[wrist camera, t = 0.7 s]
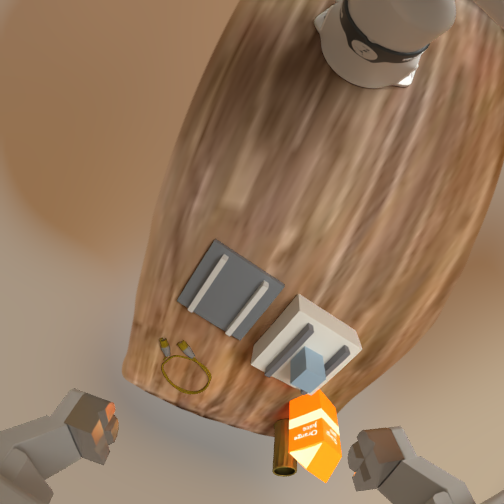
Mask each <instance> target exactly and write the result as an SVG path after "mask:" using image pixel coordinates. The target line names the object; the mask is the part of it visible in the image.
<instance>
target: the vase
mask: <svg viewBox="0 0 504 504" xmlns="http://www.w3.org/2000/svg"><path fill="white" fill-rule="evenodd" d="M274 429H275V442H274V457H273V458H274V459H273V473H274V474H275V475H277V476H291V475H294V474H295V473H296V471H297V460H296V459H295V458H294V457H293V456H292V455H291V454H290V453H289V419H282V420H279V421H277V422H276V423H275V424H274Z"/></svg>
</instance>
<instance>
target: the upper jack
mask: <svg viewBox="0 0 504 504" xmlns="http://www.w3.org/2000/svg"><path fill="white" fill-rule="evenodd" d="M304 346H306V347H308V348H309V349H311V350H313V351H315V352H316V353H318V354H320V355H322V356H323V361H324V368H325V375H326V380H325V381H324V382H322V383H321V384H320V385H319V386H318V387H317V388H316V389H314V390H313V391H312V392H311V393H308V392H306V391H304V390H302V389H300V388H298V387H296V386H294V385H292V384H290V360H291V359H292V358H293V357H294V356H295V355H296V354H297V353H298V352H299V351H300V350H301V349H302V348H303V347H304ZM361 350H362V347H361V344H360V341H359V338H358V336H357V333H356V330H354V329H352V328H351V327H349V326H348V325H346V324H345V323H343V322H342V321H340V320H339V319H337V318H335V317H334V316H332V315H331V314H329V313H328V312H326V311H325V310H323V309H322V308H320V307H318V306H317V305H315V304H314V303H312V302H311V301H309V300H308V299H306V298H305V297H303V296H302V295H300V294H299V293H298V294H297V296H296V297H295V298H294V299H293V300H292V302H291V303H290V304H289V305H288V306H287V308H286V309H285V310H284V311H283V312H282V314H281V315H280V316H279V317H278V318H277V319H276V321H275V322H274V323H273V324H272V325H271V326H270V327H269V329H268V330H267V331H266V332H265V333H264V334H263V335H262V337H261V338H260V339H259V340H258V341H257V342H256V343H255V345H254V348H253V354H252V359H251V365H252V366H254V367H256V368H258V369H259V370H261V371H263V372H265V376H267V377H271V376H273V377H274V378H276V379H278V380H280V381H282V382H284V383H286V384H288V385H290V386H292V387H294V388H296V389H298V390H300V391H301V394H303V395H306V394H308V395H311V396H312V395H313V394H314V393H315V392H316V391H317V390H319V389H320V388H321V387H322V386H323V385H324V384H326V383H327V382H328V381H329V380H330V379H331V378H332V377H333V376H335V375H336V374H337V373H338V372H339V371H340V370H341V369H342V368H343V367H344V366H345V365H346V364H348V363H349V362H350V361H351V360H352V359H353V358H354V357H355V356H356V355H357V354H358V353H359V352H360V351H361Z"/></svg>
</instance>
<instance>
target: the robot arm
mask: <svg viewBox="0 0 504 504" xmlns="http://www.w3.org/2000/svg"><path fill="white" fill-rule="evenodd" d="M472 1H474V2H475V3H476V4H477V5H478V6H479V7H480V8H481V9H482V10H483V11H484V12H485V13H486V14H487V15H489V16H490V17H491V18H492V19H493V20H494V21H495V23H496V24H498V25H499V26H500V27H501V28H502V29H504V0H472ZM336 2H337V3H335V4H334V5H331V6H330V8H328V9H327V10H325V11H324V12H322V13H321V14H320V15H318V16H317V17H316V18H315V20H314V25H315V27H316V29H317V31H318V32H319V34H320V37H321V48H322V52H323V55H324V57H325V59H326V61H327V62H328V64H329V65H330V67H331V68H332V69H333V70H334V71H335V72H336V73H337V74H338V75H339V76H341V77H342V78H343V79H345V80H347V81H348V82H350V83H353V84H355V85H358V86H361V87H365V88H381V87H385V86H390V85H394V86H399V87H408V86H409V85H410V84H411V83H412V80H413V77H414V74H415V71H416V69H417V68H418V62H419V59H420V56H421V54H422V53H423V52H424V51H425V50H426V49H427V48H428V46H429V45H430V42H432V41H433V40H435V39H436V38H438V37H439V36H440V35H442V34H443V33H445V32H446V31H448V30H449V29H450V28H451V26H452V25H453V23H454V21H455V17H456V6H455V0H336ZM324 18H325V19H324ZM114 412H115V406H114V403H113V402H110V401H107V400H104V399H101V398H98V397H96V396H93V395H91V394H88V393H85V392H82V391H80V390H77V389H75V388H74V389H71V390H70V391H69V392H68V394H67V395H66V396H65V398H64V399H63V400H62V402H61V403H60V404H59V406H58V407H57V408H56V410H55V411H54V412H53V414H52V415H51V416H50V417H49V416H44V417H41V418H38V419H36V420H33V421H30V422H27V423H24V424H21V425H18V426H15V427H12V428H9V429H6V430H3V431H0V504H49V502H50V500H51V498H52V496H53V491H52V489H51V488H50V487H49V486H48V484H47V483H46V482H45V479H47V478H49V477H51V476H52V475H54V474H56V473H58V472H59V471H61V470H63V469H65V468H66V467H68V466H70V465H71V464H73V463H75V462H76V461H78V460H80V459H81V457H82V458H85V459H88V460H90V461H93V462H96V463H99V464H102V465H104V463H105V461H106V459H107V457H108V455H109V452H110V450H109V447H108V445H110V444H112V443H114V442H115V439H116V437H117V433H118V419H117V418H116V416H115V415H114ZM357 439H358V441H357V442H356V443H354V444H353V445H352V446H351V448H350V450H349V453H348V464H349V468H350V469H352V470H353V471H354V472H355V473H354V475H353V477H352V478H353V482H354V485H355V489H356V491H363V490H370V489H376V488H378V490H379V491H380V492H381V493H382V494H383V495H384V496H385V497H386V498H387V499H388V500H389V501H391V503H393V504H475V502H474V500H473V498H472V496H471V494H470V492H469V490H468V488H467V486H466V485H465V483H464V482H463V481H461V480H459V479H458V478H456V477H454V476H452V475H451V474H449V473H447V472H446V471H444V470H442V469H441V468H439V467H437V466H435V465H434V464H432V463H431V462H429V461H427V460H426V459H424V458H422V457H421V456H420V457H417V455H416V453H415V451H414V449H413V447H412V445H411V443H410V441H409V439H408V437H407V435H406V434H405V432H404V430H403V428H402V427H400V426H397V427H389V428H379V429H370V430H362V431H361V432H360V433H359V434H358V436H357ZM481 504H504V490H502V491H501V492H499V493H498V494H496V495H494V496H493V497H491V498H489V499H488V500H486V501H484V502H483V503H481Z"/></svg>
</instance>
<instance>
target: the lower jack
mask: <svg viewBox="0 0 504 504" xmlns="http://www.w3.org/2000/svg"><path fill="white" fill-rule="evenodd" d="M283 288H284V284H283V283H282V282H280V281H279V280H277V279H276V278H274V277H273V276H271V275H270V274H268V273H266V272H265V271H263V270H262V269H260V268H259V267H257V266H256V265H254V264H253V263H251V262H250V261H248V260H247V259H245V258H244V257H242V256H241V255H239V254H238V253H236V252H235V251H233V250H232V249H230V248H229V247H227V246H226V245H224V244H223V243H221V242H220V241H218V240H217V239H215V240H214V242H213V244H212V245H211V247H210V248H209V250H208V251H207V253H206V255H205V256H204V258H203V259H202V261H201V262H200V264H199V266H198V267H197V269H196V270H195V272H194V274H193V275H192V277H191V278H190V280H189V282H188V283H187V285H186V287H185V288H184V290H183V291H182V293H181V295H180V296H179V298H178V300H177V301H178V302H179V303H181V304H183V305H184V306H186V307H187V308H188V311H190V312H195V313H196V314H198V315H200V316H201V317H203V318H204V319H206V320H207V321H209V322H211V323H212V324H214V325H215V326H217V327H219V328H220V329H222V330H224V331H225V332H226V333H225V334H227V335H228V336H231V335H232V336H234V337H235V338H237V339H239V340H241V339H242V338H243V337H244V335H245V334H246V333H247V332H248V331H249V330H250V328H251V327H252V326H253V325H254V324H255V322H256V321H257V320H258V319H259V317H260V316H261V315H262V314H263V313H264V311H265V310H266V309H267V308H268V307H269V305H270V304H271V303H272V302H273V300H274V299H275V298H276V297H277V295H278V294H279V293H280V292H281V290H282V289H283Z"/></svg>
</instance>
